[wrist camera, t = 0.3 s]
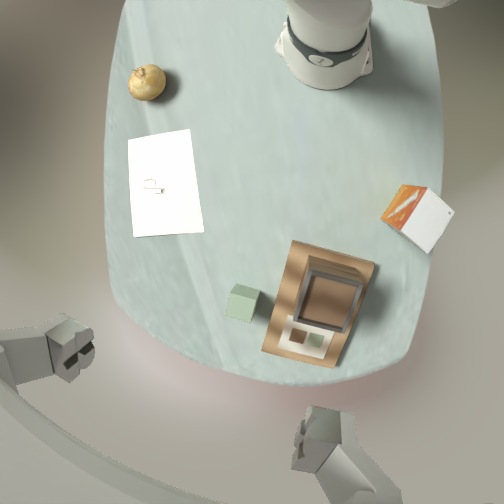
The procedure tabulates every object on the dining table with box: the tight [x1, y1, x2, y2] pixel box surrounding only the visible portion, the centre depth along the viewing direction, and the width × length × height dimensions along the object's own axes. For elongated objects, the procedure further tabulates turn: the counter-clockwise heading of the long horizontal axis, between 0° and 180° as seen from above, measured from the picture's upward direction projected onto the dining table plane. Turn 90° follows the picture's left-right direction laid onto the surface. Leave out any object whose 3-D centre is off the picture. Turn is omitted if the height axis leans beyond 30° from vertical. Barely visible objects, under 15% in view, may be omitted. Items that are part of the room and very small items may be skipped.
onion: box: [128, 64, 166, 101], centre depth 48 cm, size 8×8×7 cm
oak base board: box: [261, 240, 375, 369], centre depth 52 cm, size 24×16×11 cm, turn 167°
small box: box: [381, 185, 455, 254], centre depth 43 cm, size 8×6×13 cm
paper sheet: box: [128, 129, 204, 237], centre depth 56 cm, size 24×29×1 cm
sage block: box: [225, 284, 260, 323], centre depth 57 cm, size 5×5×5 cm
